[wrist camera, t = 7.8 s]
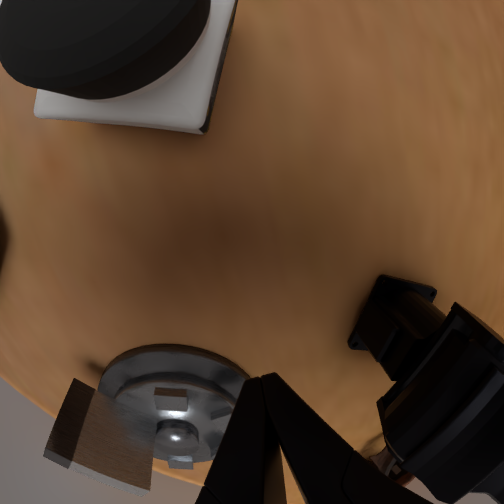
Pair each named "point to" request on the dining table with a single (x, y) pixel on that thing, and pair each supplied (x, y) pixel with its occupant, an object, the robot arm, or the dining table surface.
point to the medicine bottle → (119, 59)
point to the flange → (172, 367)
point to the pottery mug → (391, 467)
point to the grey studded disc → (139, 428)
